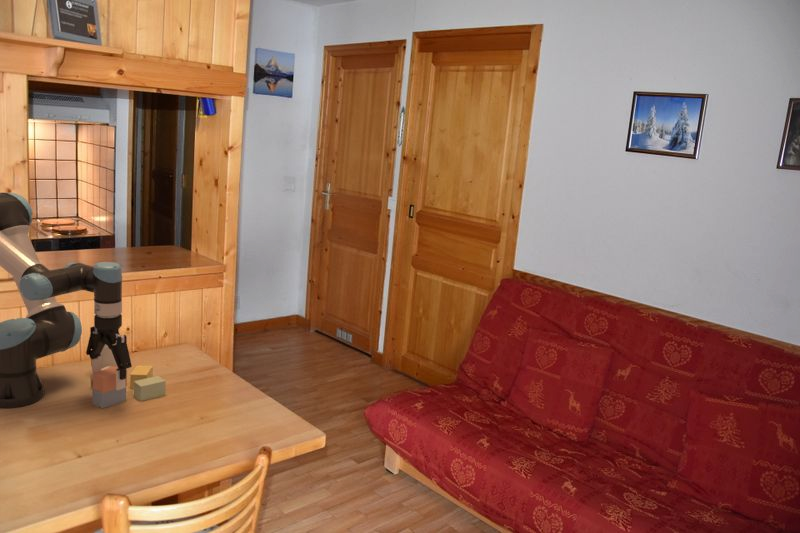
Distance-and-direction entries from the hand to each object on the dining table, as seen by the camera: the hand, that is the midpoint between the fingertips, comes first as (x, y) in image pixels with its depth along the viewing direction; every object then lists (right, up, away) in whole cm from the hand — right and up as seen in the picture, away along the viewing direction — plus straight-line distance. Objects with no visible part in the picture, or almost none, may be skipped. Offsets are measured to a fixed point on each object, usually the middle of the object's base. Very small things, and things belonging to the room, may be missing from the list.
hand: (108, 383), depth 199 cm
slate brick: (0, -6, +1) cm, 6 cm away
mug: (-10, 0, +23) cm, 25 cm away
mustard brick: (+4, -3, +16) cm, 17 cm away
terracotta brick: (0, -1, 0) cm, 1 cm away
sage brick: (+9, -5, +8) cm, 14 cm away
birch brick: (-6, -3, +13) cm, 14 cm away
